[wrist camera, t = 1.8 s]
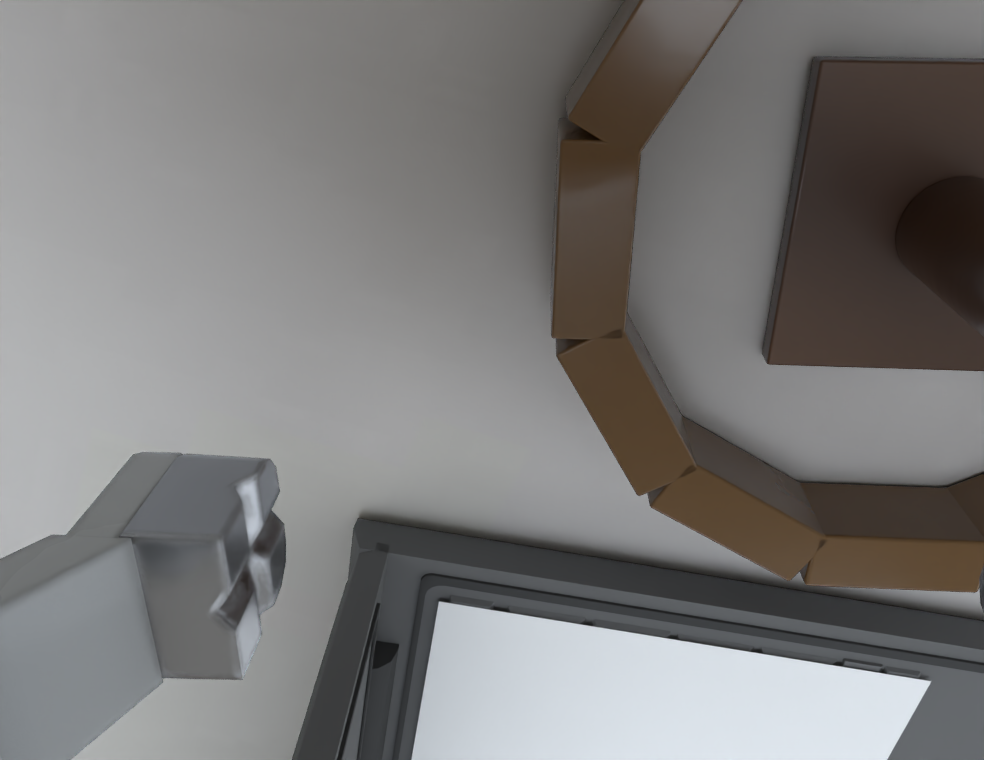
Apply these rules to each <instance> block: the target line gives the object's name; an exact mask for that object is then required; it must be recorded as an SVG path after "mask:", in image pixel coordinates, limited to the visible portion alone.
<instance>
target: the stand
mask: <svg viewBox="0 0 984 760" xmlns="http://www.w3.org/2000/svg"><path fill="white" fill-rule="evenodd" d="M762 355H763V357H764V359H765V361H766V363H767V364H770V365H801V366H833V367H866V368H898V369H931V370H964V371H984V59H940V58H874V57H815V58H814V59H813V63H812V68H811V74H810V80H809V86H808V92H807V97H806V103H805V109H804V115H803V120H802V126H801V132H800V138H799V144H798V149H797V155H796V161H795V167H794V172H793V178H792V184H791V190H790V196H789V201H788V207H787V213H786V219H785V225H784V230H783V236H782V242H781V248H780V253H779V259H778V265H777V271H776V277H775V282H774V288H773V294H772V300H771V305H770V311H769V317H768V323H767V329H766V334H765V340H764V346H763V352H762Z"/></svg>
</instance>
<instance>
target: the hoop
mask: <svg viewBox="0 0 984 760" xmlns="http://www.w3.org/2000/svg"><path fill="white" fill-rule="evenodd" d="M742 1H743V0H624V2H623V3H622V5H621V7H620V8H619V10H618V12H617V13H616V15H615V16H614V18H613V20H612V21H611V23H610V25H609V26H608V28H607V30H606V31H605V33H604V35H603V36H602V38H601V39H600V41H599V43H598V44H597V46H596V48H595V49H594V51H593V53H592V54H591V56H590V58H589V59H588V61H587V63H586V64H585V66H584V67H583V69H582V71H581V72H580V74H579V76H578V77H577V79H576V81H575V82H574V84H573V86H572V87H571V89H570V90H569V92H568V94H567V95H566V97H565V102H566V109H567V115H568V118H560V119H559V120H558V136H557V159H556V182H555V205H554V228H553V251H552V274H551V297H550V298H551V336H552V338H556V356H557V358H558V360H559V362H560V363H561V365H562V367H563V369H564V370H565V372H566V374H567V375H568V377H569V379H570V381H571V382H572V384H573V386H574V387H575V389H576V391H577V393H578V394H579V396H580V398H581V399H582V401H583V403H584V405H585V406H586V408H587V410H588V411H589V413H590V415H591V417H592V418H593V420H594V422H595V423H596V425H597V427H598V429H599V430H600V432H601V434H602V436H603V437H604V439H605V441H606V442H607V444H608V446H609V448H610V449H611V451H612V453H613V454H614V456H615V458H616V460H617V461H618V463H619V465H620V466H621V468H622V470H623V472H624V473H625V475H626V477H627V478H628V480H629V482H630V484H631V485H632V487H633V489H634V490H635V492H636V494H637V495H638V496H641V495H643V494H645V493H648V499H649V504H650V506H651V508H653V509H655V510H657V511H659V512H660V513H662V514H664V515H666V516H668V517H670V518H672V519H673V520H675V521H677V522H679V523H681V524H683V525H685V526H687V527H688V528H690V529H692V530H694V531H696V532H698V533H700V534H701V535H703V536H705V537H707V538H709V539H711V540H713V541H714V542H716V543H718V544H720V545H722V546H724V547H726V548H727V549H729V550H731V551H733V552H735V553H737V554H739V555H741V556H742V557H744V558H746V559H748V560H750V561H752V562H754V563H755V564H757V565H759V566H761V567H763V568H765V569H767V570H768V571H770V572H772V573H774V574H776V575H778V576H780V577H782V578H783V579H785V580H787V581H790V580H791V579H792V578H793V577H794V576H795V575H796V574H797V573H798V572H799V571H800V573H801V576H802V578H803V581H804V583H805V584H806V585H808V586H831V587H855V588H879V589H902V590H926V591H950V592H974V593H975V592H977V591H978V589H979V587H980V584H979V578H980V574H981V571H982V568H983V564H984V474H981V475H978V476H976V477H973V478H970V479H968V480H965V481H962V482H960V483H957V484H954V485H952V486H949V487H946V488H939V487H911V486H884V485H857V484H829V483H802V482H798V481H796V480H794V479H792V478H791V477H789V476H787V475H785V474H784V473H782V472H780V471H778V470H777V469H775V468H773V467H771V466H770V465H768V464H766V463H764V462H762V461H761V460H759V459H757V458H755V457H754V456H752V455H750V454H748V453H747V452H745V451H743V450H741V449H740V448H738V447H736V446H734V445H733V444H731V443H729V442H727V441H725V440H724V439H722V438H720V437H718V436H717V435H715V434H713V433H711V432H710V431H708V430H706V429H704V428H703V427H701V426H699V425H697V424H695V423H694V422H692V421H690V420H688V419H687V418H685V417H683V416H682V415H681V413H680V411H679V409H678V407H677V405H676V403H675V402H674V400H673V398H672V396H671V394H670V392H669V390H668V388H667V386H666V385H665V383H664V381H663V379H662V377H661V375H660V373H659V371H658V369H657V368H656V366H655V364H654V362H653V360H652V358H651V356H650V354H649V352H648V351H647V349H646V347H645V345H644V343H643V341H642V339H641V337H640V335H639V334H638V332H637V330H636V328H635V326H634V324H633V322H632V320H631V318H630V317H629V315H628V313H627V305H628V294H629V283H630V271H631V260H632V249H633V238H634V226H635V215H636V204H637V192H638V181H639V170H640V159H641V151H642V150H643V148H644V147H645V145H646V144H647V142H648V141H649V139H650V138H651V136H652V135H653V134H654V132H655V131H656V129H657V128H658V126H659V125H660V123H661V122H662V120H663V119H664V117H665V116H666V114H667V113H668V111H669V110H670V108H671V107H672V105H673V104H674V102H675V101H676V99H677V98H678V96H679V95H680V93H681V92H682V90H683V89H684V87H685V86H686V84H687V83H688V81H689V80H690V78H691V77H692V75H693V74H694V72H695V71H696V69H697V68H698V66H699V65H700V63H701V62H702V60H703V59H704V57H705V56H706V54H707V53H708V51H709V50H710V48H711V47H712V46H713V44H714V43H715V41H716V40H717V38H718V37H719V35H720V34H721V32H722V31H723V29H724V28H725V26H726V25H727V23H728V22H729V20H730V19H731V17H732V16H733V14H734V13H735V11H736V10H737V8H738V7H739V5H740V4H741V2H742Z"/></svg>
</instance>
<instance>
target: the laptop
mask: <svg viewBox="0 0 984 760" xmlns="http://www.w3.org/2000/svg"><path fill="white" fill-rule="evenodd" d="M292 760H984V621H979V620H973V619H967V618H961V617H955V616H949V615H943V614H937V613H931V612H925V611H919V610H913V609H906V608H900V607H894V606H888V605H882V604H876V603H870V602H864V601H858V600H852V599H846V598H840V597H833V596H827V595H821V594H815V593H809V592H803V591H797V590H791V589H785V588H779V587H773V586H767V585H761V584H754V583H748V582H742V581H736V580H730V579H724V578H718V577H712V576H706V575H700V574H694V573H688V572H682V571H675V570H669V569H663V568H657V567H651V566H645V565H639V564H633V563H627V562H621V561H615V560H609V559H603V558H596V557H590V556H584V555H578V554H572V553H566V552H560V551H554V550H548V549H542V548H536V547H530V546H524V545H517V544H511V543H505V542H499V541H493V540H487V539H481V538H475V537H469V536H463V535H457V534H451V533H444V532H438V531H432V530H426V529H420V528H414V527H408V526H402V525H396V524H390V523H384V522H377V521H371V520H365V519H359V518H358V520H357V522H356V524H355V526H354V528H353V537H352V547H351V556H350V566H349V575H348V581H347V583H346V586H345V589H344V592H343V596H342V599H341V602H340V605H339V609H338V612H337V615H336V618H335V622H334V625H333V628H332V631H331V635H330V638H329V641H328V644H327V648H326V651H325V654H324V657H323V660H322V664H321V667H320V670H319V673H318V677H317V680H316V683H315V686H314V690H313V693H312V696H311V699H310V703H309V706H308V709H307V712H306V716H305V719H304V722H303V725H302V728H301V732H300V735H299V738H298V741H297V745H296V748H295V751H294V754H293V758H292Z"/></svg>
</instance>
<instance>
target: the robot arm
mask: <svg viewBox="0 0 984 760" xmlns="http://www.w3.org/2000/svg"><path fill="white" fill-rule="evenodd" d="M279 492H280V488H279V482H278V475H277V469H276V466H275V465H274V463H273V462H272V460H271V459H268V458H251V457H234V456H218V455H201V454H181V453H166V452H141V453H137V454H133V455H132V456H131V457H130V459H129V460H128V461H127V462H126V463H125V465H124V466H123V467H122V468H121V469H120V471H119V472H118V473H117V474H116V475H115V477H114V478H113V479H112V480H111V481H110V483H109V484H108V485H107V486H106V487H105V489H104V490H103V491H102V492H101V494H100V495H99V496H98V497H97V498H96V500H95V501H94V502H93V503H92V504H91V506H90V507H89V508H88V509H87V510H86V512H85V513H84V514H83V515H82V516H81V518H80V519H79V520H78V521H77V522H76V524H75V525H74V526H73V527H72V528H71V530H70V531H69V532H68V533H67V534H66V535H50V536H48V537H46V538H44V539H42V540H39V541H37V542H35V543H33V544H31V545H29V546H27V547H25V548H23V549H20V550H18V551H16V552H14V553H12V554H10V555H8V556H6V557H3V558H1V559H0V760H71V759H72V758H73V757H74V756H75V755H77V754H78V753H79V752H80V751H81V750H83V749H84V748H85V747H86V746H87V745H89V744H90V743H91V742H92V741H93V740H95V739H96V738H97V737H98V736H99V735H101V734H102V733H103V732H104V731H105V730H107V729H108V728H109V727H110V726H111V725H113V724H114V723H115V722H116V721H117V720H119V719H120V718H121V717H122V716H123V715H125V714H126V713H127V712H128V711H129V710H130V709H132V708H133V707H134V706H135V705H136V704H138V703H139V702H140V701H141V700H142V699H144V698H145V697H146V696H147V695H148V694H150V693H151V692H152V691H153V690H154V689H156V688H157V687H158V686H159V685H160V684H162V683H163V679H162V678H186V679H230V680H243V678H244V676H245V673H246V671H247V668H248V666H249V664H250V661H251V659H252V657H253V654H254V652H255V649H256V647H257V645H258V642H259V640H260V638H261V635H262V630H261V623H260V616H259V615H260V614H262V613H263V612H265V611H266V610H268V609H269V608H270V607H272V606H273V605H274V604H275V601H276V599H277V596H278V593H279V591H280V588H281V585H282V579H283V574H284V568H285V563H286V538H285V528H284V523H283V522H282V521H281V520H280V519H279V518H278V517H277V516H276V515H275V513H274V512H273V511H272V510H271V509H272V507H273V505H274V503H275V501H276V499H277V497H278V495H279ZM979 584H980V603H981V606H982V609H983V612H984V564H983V568H982V571H981V574H980V578H979Z"/></svg>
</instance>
